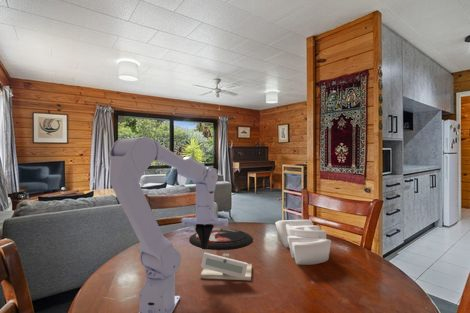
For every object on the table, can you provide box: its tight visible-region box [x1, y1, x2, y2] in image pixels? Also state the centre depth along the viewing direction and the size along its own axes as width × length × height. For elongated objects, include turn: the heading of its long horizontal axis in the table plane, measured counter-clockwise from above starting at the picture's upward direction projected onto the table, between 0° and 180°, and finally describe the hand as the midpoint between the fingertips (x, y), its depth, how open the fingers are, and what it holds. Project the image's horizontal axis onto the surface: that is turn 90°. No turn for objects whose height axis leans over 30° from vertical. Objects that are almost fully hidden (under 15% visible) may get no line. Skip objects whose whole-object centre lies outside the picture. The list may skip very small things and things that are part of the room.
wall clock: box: [188, 227, 254, 251], centre depth 113 cm, size 27×5×30 cm
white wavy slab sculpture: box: [274, 219, 332, 266], centre depth 99 cm, size 35×16×11 cm, turn 0°
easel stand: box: [200, 253, 253, 281], centre depth 80 cm, size 9×16×7 cm, turn 85°
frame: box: [200, 252, 249, 278], centre depth 75 cm, size 2×14×4 cm, turn 85°
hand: (204, 248), depth 76 cm, fingers closed
